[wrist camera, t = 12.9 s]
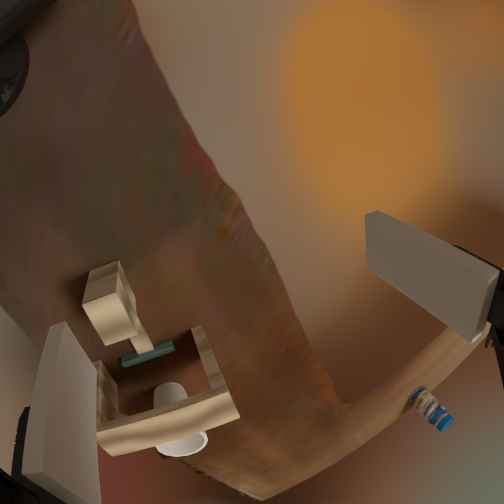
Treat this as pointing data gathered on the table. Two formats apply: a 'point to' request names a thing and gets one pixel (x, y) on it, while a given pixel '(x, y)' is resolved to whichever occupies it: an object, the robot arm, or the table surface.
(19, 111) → the table surface
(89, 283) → the squeegee
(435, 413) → the beverage bottle
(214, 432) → the table surface
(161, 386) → the foam cup
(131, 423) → the shelf
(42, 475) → the robot arm
